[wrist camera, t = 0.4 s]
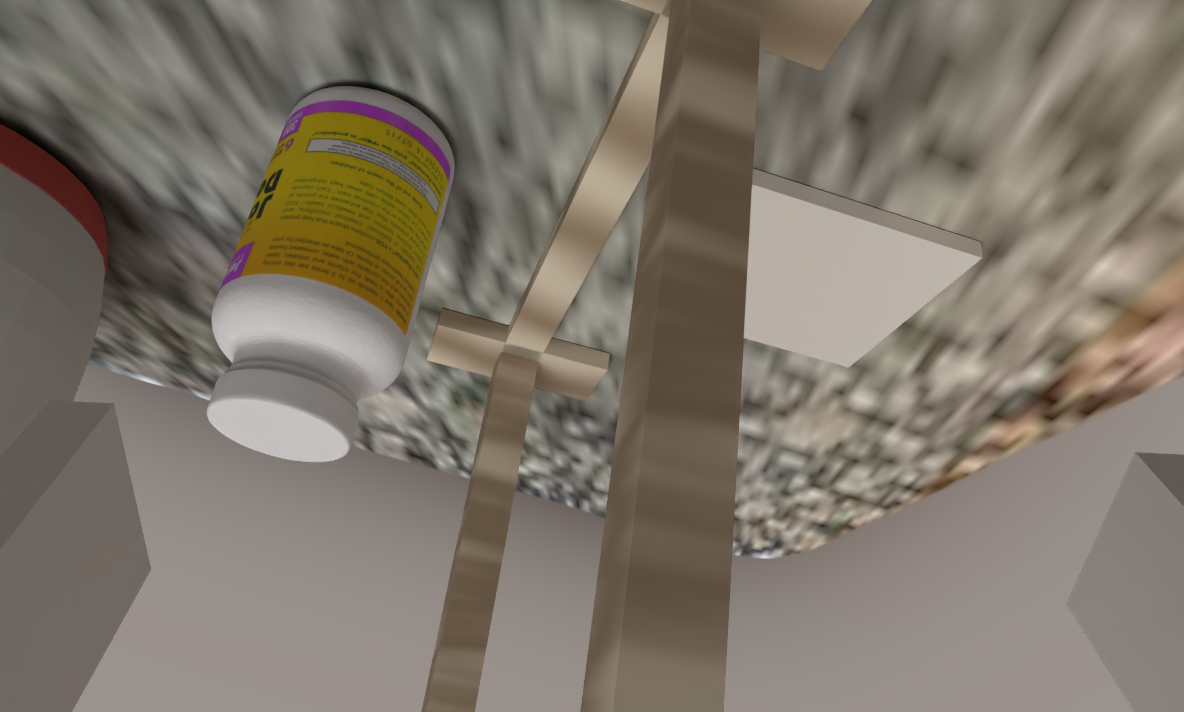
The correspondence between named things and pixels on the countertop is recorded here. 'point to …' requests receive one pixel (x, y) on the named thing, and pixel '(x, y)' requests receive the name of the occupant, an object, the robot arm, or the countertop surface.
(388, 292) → the supplement bottle
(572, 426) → the countertop surface
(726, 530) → the gate frame
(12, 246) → the citrus juicer
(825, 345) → the coaster
